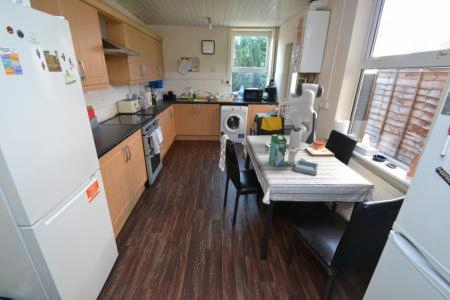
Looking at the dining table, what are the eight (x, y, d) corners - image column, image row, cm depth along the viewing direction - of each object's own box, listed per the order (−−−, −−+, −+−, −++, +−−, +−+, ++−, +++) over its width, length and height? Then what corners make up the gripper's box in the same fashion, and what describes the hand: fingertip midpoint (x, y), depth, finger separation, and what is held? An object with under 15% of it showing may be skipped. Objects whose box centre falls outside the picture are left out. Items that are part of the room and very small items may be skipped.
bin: (297, 163, 176) (298, 159, 175) (317, 167, 169) (318, 163, 168) (294, 170, 163) (295, 166, 161) (316, 175, 156) (317, 171, 155)
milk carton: (273, 167, 168) (277, 137, 159) (268, 162, 176) (271, 134, 167) (283, 166, 170) (287, 137, 162) (277, 161, 179) (281, 133, 170)
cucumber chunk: (289, 163, 175) (290, 158, 174) (294, 164, 174) (295, 159, 172) (288, 165, 172) (289, 160, 170) (293, 166, 170) (294, 161, 168)
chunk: (300, 161, 180) (301, 157, 178) (305, 162, 178) (306, 158, 176) (299, 163, 176) (300, 159, 175) (305, 164, 174) (306, 160, 173)
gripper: (292, 143, 177) (290, 158, 182) (287, 150, 160) (285, 167, 165) (300, 144, 175) (297, 159, 179) (296, 152, 157) (293, 168, 162)
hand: (291, 163), depth 172 cm, fingers closed on cucumber chunk, 4 cm apart
